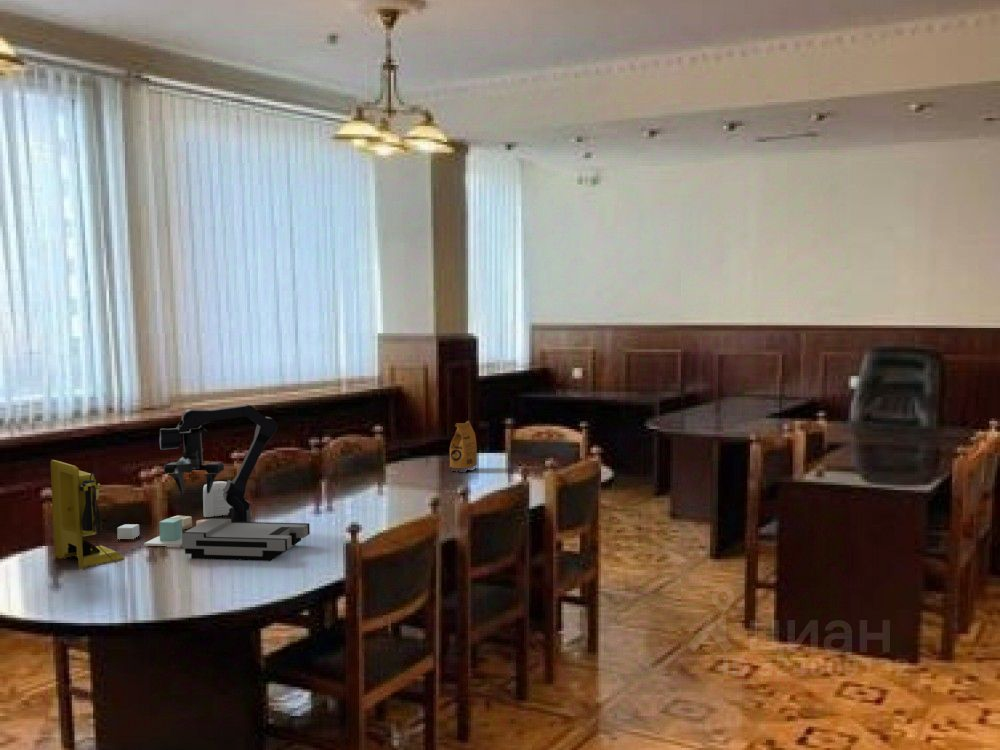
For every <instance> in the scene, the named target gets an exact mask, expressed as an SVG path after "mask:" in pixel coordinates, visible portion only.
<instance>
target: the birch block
mask: <svg viewBox="0 0 1000 750" xmlns="http://www.w3.org/2000/svg"><path fill="white" fill-rule="evenodd" d="M192 517H193V516H189V515H187V516H186V515H175V516H171V517H169V518H168V519H182V529H187V528H189V527H192V528H193V519H192ZM187 530H188V529H187Z"/></svg>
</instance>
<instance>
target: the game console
mask: <svg viewBox="0 0 1000 750" xmlns="http://www.w3.org/2000/svg"><path fill="white" fill-rule="evenodd" d="M208 519H209V520H207V521H205V522H203V523H201V524H199V525H197V524H196V525H195V526H192V528H190V529H187V530H184V532H183V531H182V548H181V549H184V554H185V555H190V556H191V558H190V559H191V560H218V561H219V560H220V561H251V562H252V561H256V562H271V561H273V560H274V559H276V558H278V557H279V556H281V555H283V554H284V553H286V552H287V551H289V549H291V548H292V545H293V546H295V545H297V544H298V543H299V542H300V541H302V539H305V538H306V537H308V536H309V535H310V532H311V529H310V523H307V522H306V523H302V522H301V523H299V522H268V521H267V522H265V521H263V522H261V521H260V522H258V521H252V522H251V521H250V522H233V518H228V517H216V516H215V517H210V518H208Z"/></svg>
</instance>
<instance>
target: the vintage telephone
mask: <svg viewBox="0 0 1000 750" xmlns="http://www.w3.org/2000/svg"><path fill="white" fill-rule="evenodd" d="M49 464H50V481H51V499H52V501H51V502H52V521H53V522H52V523H53V525H52V526H53V541H54V543H53V545H54V559H55V558H57V559H62V558H64V559H67V558H66V557H70V558H72V557H71V556H75V557H76V558H77V559H78V561H77V563H78V570H79V569H82V568H83V567H85V568H87V567H86V566H90V567H92V566H91V565H95V566H97V565H96V564H99V565H102V564H101V563H104V564H108V563H107V562H109V563H112V562H111V561H114V562H115V564H116V565H117V561H116V560H119V561H123V560H124V559H125V557H124V556H122V554H120V553H119V552H118V551H115V550H114V549H111V548H109V547H106V546H105V545H104V546H103V545H99V541H98V532H99V531H103V523H102V517H101V513H100V510H99V506H98V502H97V500H98V499H99V497H100V489H101V484H100V483H99V481H98V480H96V474H95V473H93V472H91V473H89V472H86V471H82V470H80V468H79V467H77V466H76V465H73V464H70V463H67V462H63V461H60V460H55V459H51V461H50V463H49ZM94 535H96V538H95V539H96V545H95V544H93V543H91V542H90V541H89V540H88V539H86V538H84V537H89V536H94ZM76 555H77V556H76ZM122 559H123V560H122ZM83 569H84V568H83ZM83 569H82V570H83Z"/></svg>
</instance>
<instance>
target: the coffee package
mask: <svg viewBox="0 0 1000 750" xmlns="http://www.w3.org/2000/svg"><path fill="white" fill-rule="evenodd" d="M454 427H456V430H455V433H454V436H453V437H452V439H451V441H450V445H449V468H450V467H452V468H469V467H473V466H475V465H477V464H478V463H477V461H478V460H477V458H478V457H477V450H478V448H477V439H476V438H477V437H476V432H475V431H474V429H473V426H472V425H471V422H470V420H467V421H466V422H464V423H463V422H459V423H458V422H456V423H455V424H454Z"/></svg>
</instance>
